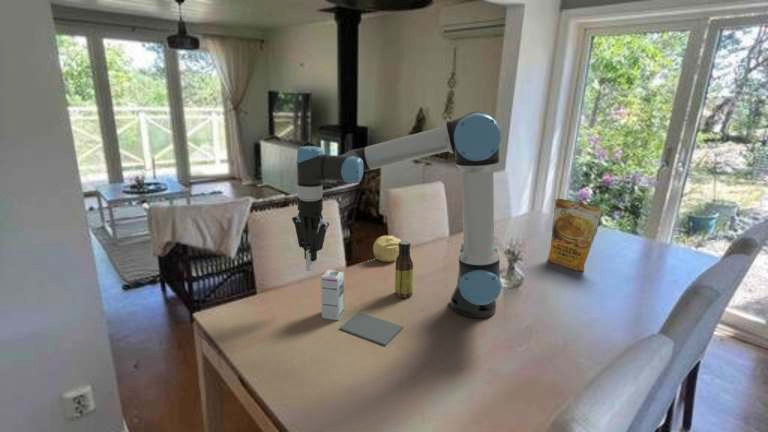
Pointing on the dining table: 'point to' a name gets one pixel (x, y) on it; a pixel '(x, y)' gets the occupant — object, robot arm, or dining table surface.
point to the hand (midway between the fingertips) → (310, 269)
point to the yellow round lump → (386, 248)
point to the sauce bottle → (404, 271)
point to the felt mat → (371, 328)
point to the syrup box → (332, 294)
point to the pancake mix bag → (573, 233)
